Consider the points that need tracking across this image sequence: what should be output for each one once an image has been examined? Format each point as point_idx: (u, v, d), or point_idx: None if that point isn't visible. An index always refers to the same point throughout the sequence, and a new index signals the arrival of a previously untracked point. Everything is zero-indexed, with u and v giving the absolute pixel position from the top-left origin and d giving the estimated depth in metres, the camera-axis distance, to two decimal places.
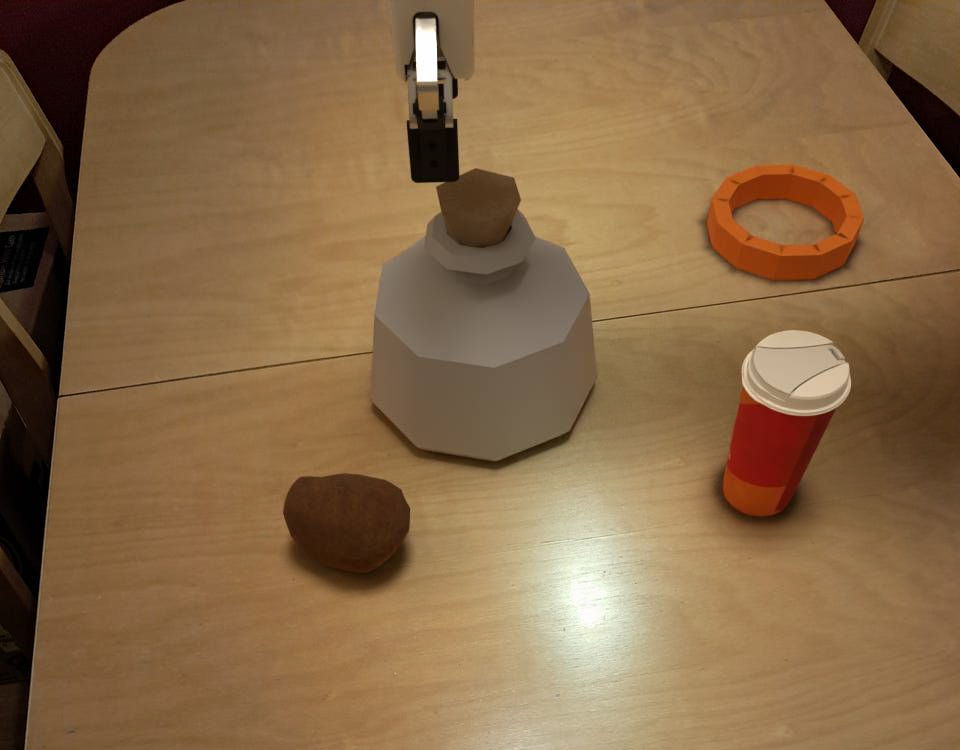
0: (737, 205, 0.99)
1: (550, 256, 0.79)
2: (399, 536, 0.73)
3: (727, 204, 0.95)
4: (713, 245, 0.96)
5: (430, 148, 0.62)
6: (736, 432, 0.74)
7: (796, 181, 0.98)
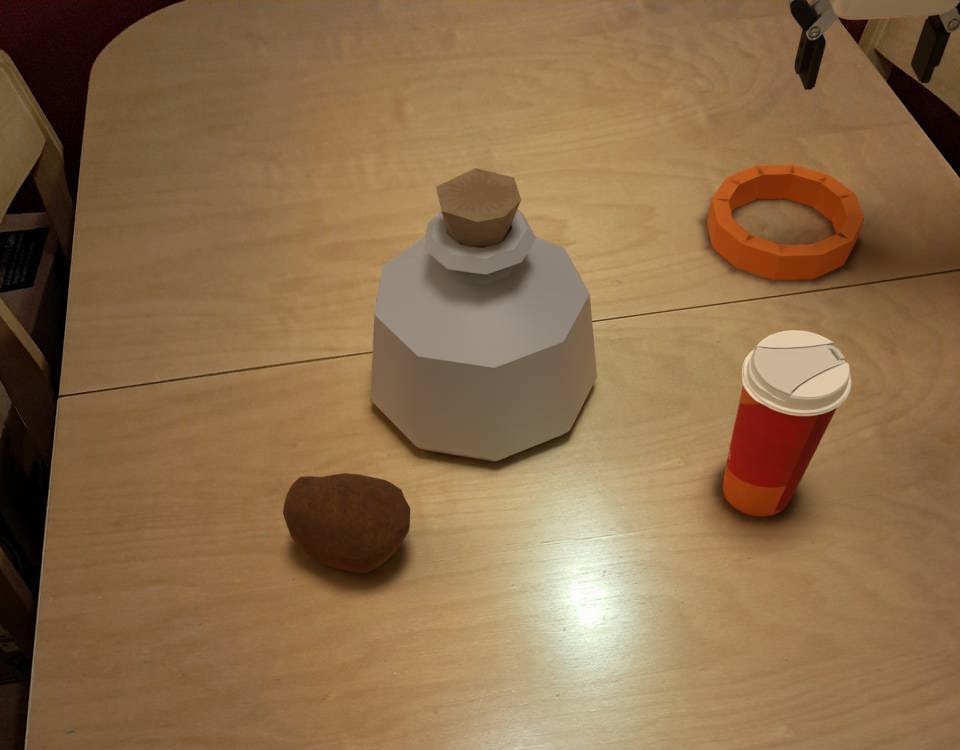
0: (737, 205, 0.99)
1: (550, 256, 0.79)
2: (399, 536, 0.73)
3: (727, 204, 0.95)
4: (713, 245, 0.96)
5: (801, 46, 0.80)
6: (736, 432, 0.74)
7: (796, 181, 0.98)
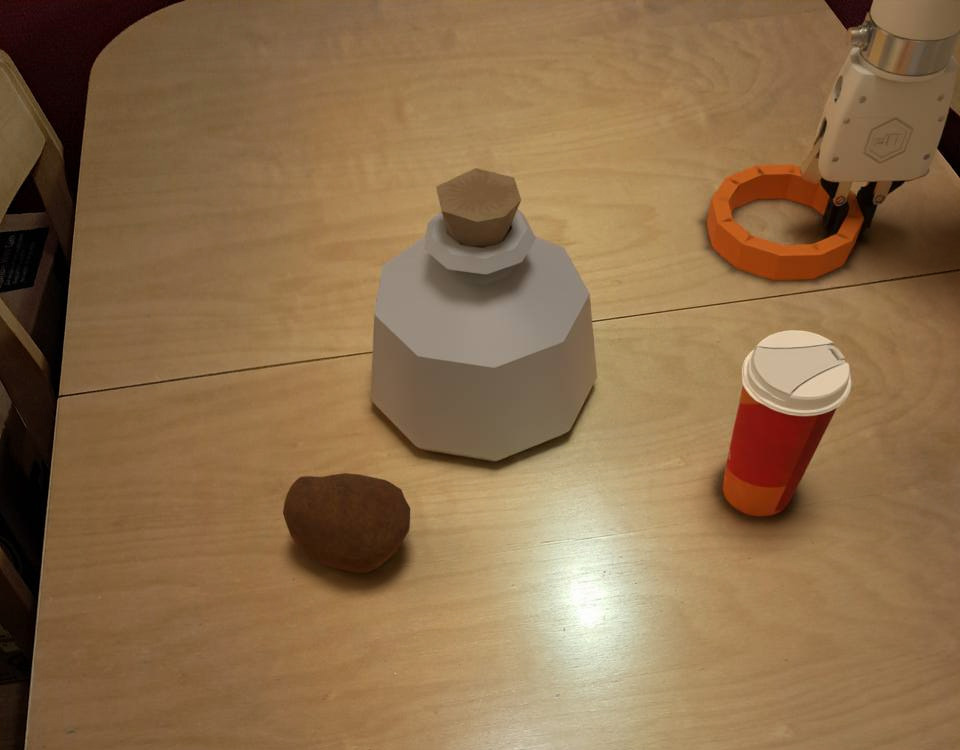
0: (737, 205, 0.99)
1: (550, 256, 0.79)
2: (399, 536, 0.73)
3: (727, 204, 0.95)
4: (713, 245, 0.96)
5: (828, 207, 0.95)
6: (736, 432, 0.74)
7: (796, 181, 0.98)
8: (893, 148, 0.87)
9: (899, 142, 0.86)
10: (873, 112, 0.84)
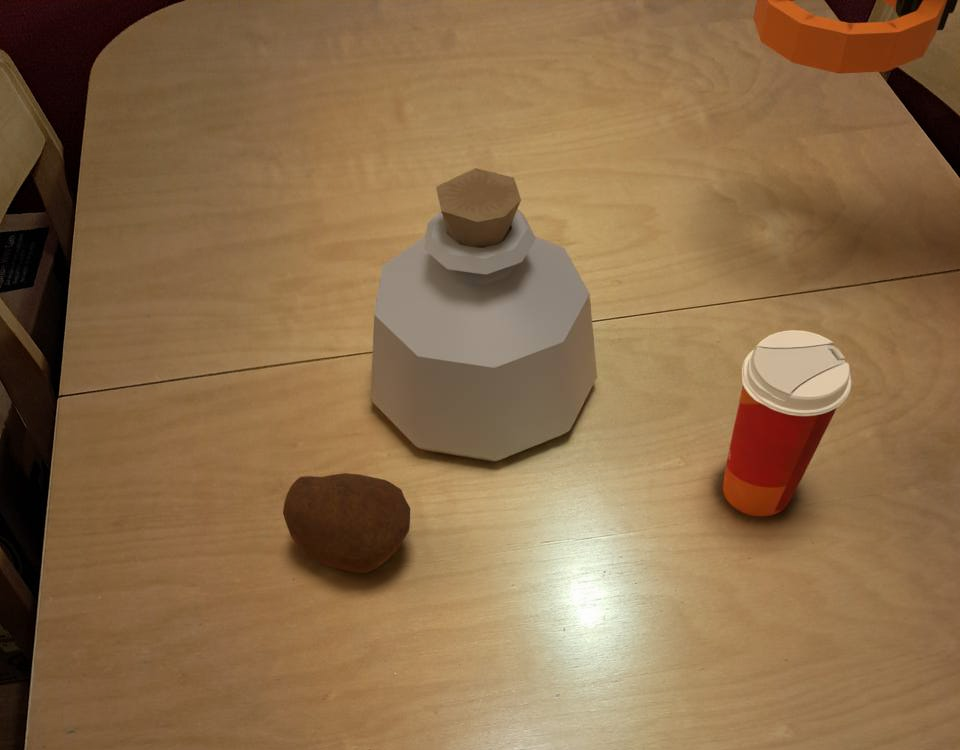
0: None
1: (550, 256, 0.79)
2: (399, 536, 0.73)
3: None
4: (763, 36, 0.79)
5: None
6: (736, 432, 0.74)
7: None
8: None
9: None
10: None
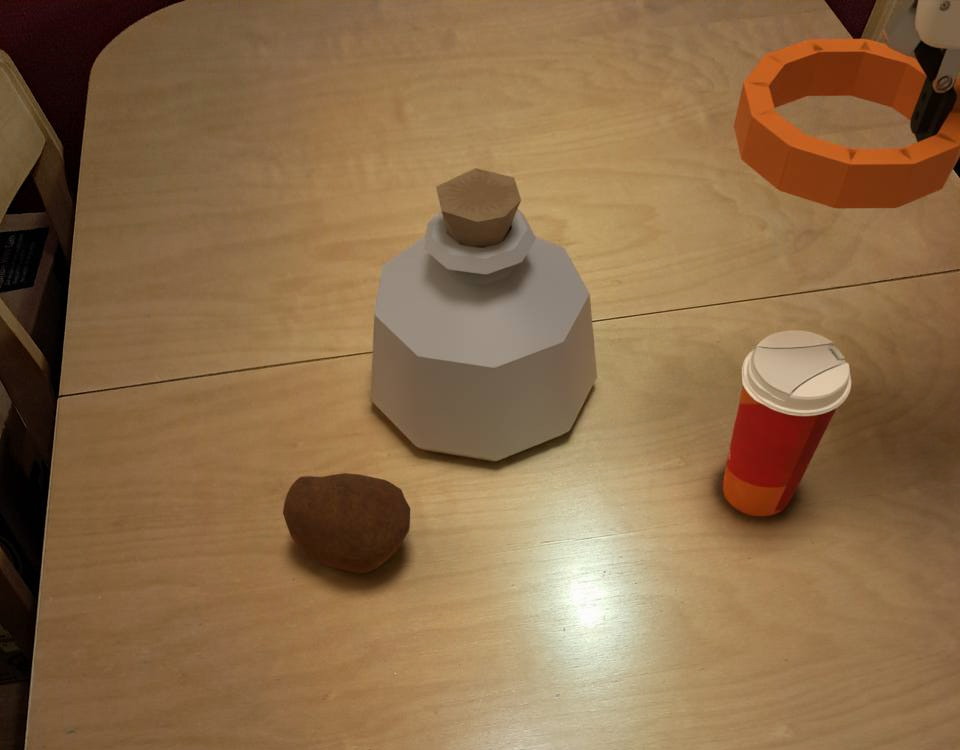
0: (780, 99, 0.66)
1: (550, 256, 0.79)
2: (399, 536, 0.73)
3: (767, 90, 0.63)
4: (744, 153, 0.63)
5: (923, 99, 0.62)
6: (736, 432, 0.74)
7: (870, 63, 0.65)
8: None
9: None
10: None
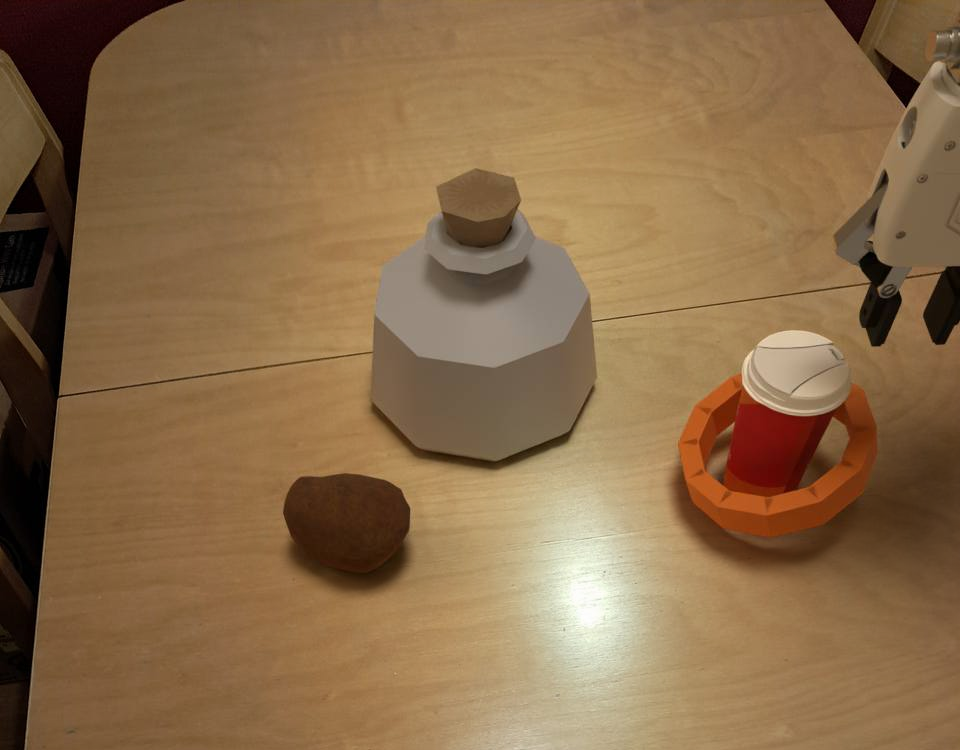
0: (720, 428, 0.79)
1: (550, 256, 0.79)
2: (399, 536, 0.73)
3: (697, 448, 0.76)
4: (692, 499, 0.77)
5: (870, 298, 0.64)
6: (736, 432, 0.74)
7: None
8: None
9: None
10: None
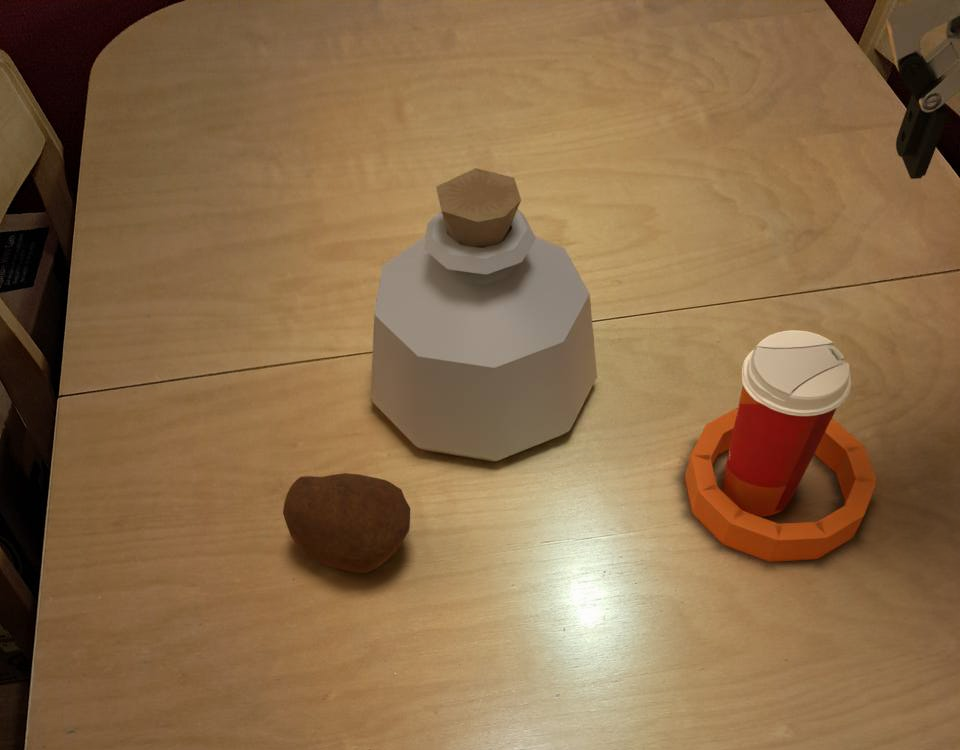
0: (721, 452, 0.82)
1: (550, 256, 0.79)
2: (399, 536, 0.73)
3: (709, 463, 0.78)
4: (694, 512, 0.79)
5: (909, 118, 0.55)
6: (736, 432, 0.74)
7: None
8: None
9: None
10: None
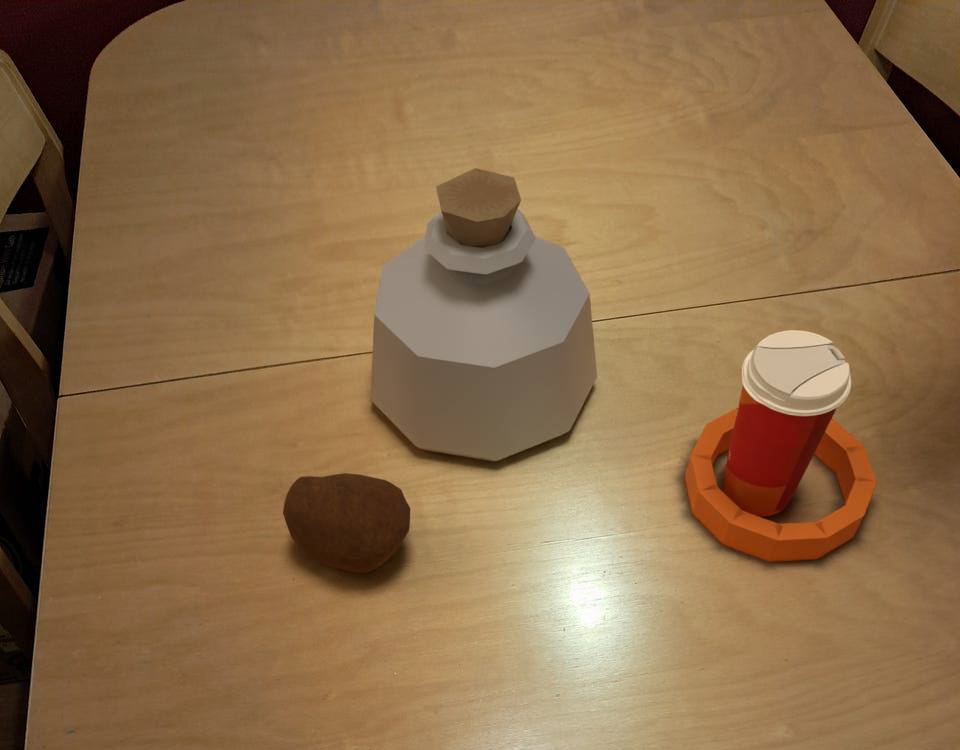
0: (721, 452, 0.82)
1: (550, 256, 0.79)
2: (399, 536, 0.73)
3: (709, 463, 0.78)
4: (694, 512, 0.79)
5: None
6: (736, 432, 0.74)
7: None
8: None
9: None
10: None
